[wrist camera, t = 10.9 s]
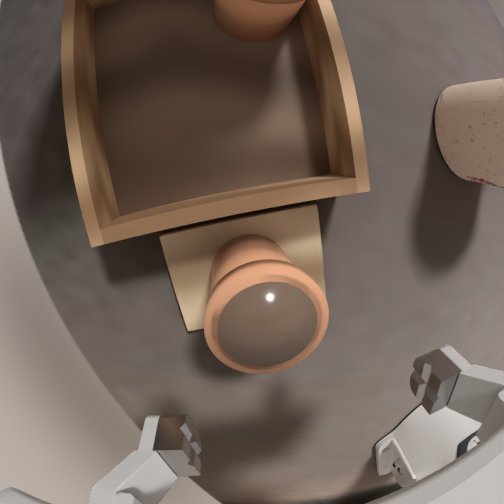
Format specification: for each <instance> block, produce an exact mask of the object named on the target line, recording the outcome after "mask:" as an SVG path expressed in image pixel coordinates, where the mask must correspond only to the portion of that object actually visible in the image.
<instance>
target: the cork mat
mask: <svg viewBox="0 0 504 504" xmlns="http://www.w3.org/2000/svg"><path fill="white" fill-rule="evenodd" d="M247 234H256V235H261V236H265V237H267V238H269V239H271V240H273V241H274V242H276V243H277V244H278V245H279V246H280V247H281V249H282V250H283V251H284V252H285V254H286V255H287V256H288V258H289V259H290V260H291V262H292V263H293V264H294V265H296V266H298V267H299V268H301V269H303V270H304V271H305V272H306V273H308V274H309V276H310V277H311V278H312V279H313V280H314V281H315V283H316V284H317V285H318V286H319V288H320V289H321V290H322V292H323V294H324V296H325V298H326V294H325V280H324V267H323V255H322V244H321V234H320V224H319V215H318V207H317V204H315V203H313V204H307V205H301V206H296V207H290V208H285V209H279V210H274V211H269V212H264V213H258V214H253V215H248V216H243V217H238V218H233V219H228V220H223V221H218V222H214V223H209V224H204V225H200V226H195V227H190V228H186V229H181V230H177V231H172V232H168V233H163V234H161V235H160V236H159V237H160V241H161V245H162V248H163V252H164V256H165V259H166V263H167V266H168V270H169V273H170V276H171V280H172V283H173V286H174V290H175V293H176V296H177V299H178V302H179V305H180V309H181V312H182V315H183V318H184V321H185V324H186V327H187V329H188V331H193V330H198V329H204V312H205V305H206V301H207V299H208V296H209V294H210V292H211V268H212V263H213V260H214V257H215V255H216V254H217V252H218V251H219V249H220V248H221V247H222V246H223V245H224V244H225V243H227V242H228V241H230V240H231V239H233V238H236V237H238V236H242V235H247Z"/></svg>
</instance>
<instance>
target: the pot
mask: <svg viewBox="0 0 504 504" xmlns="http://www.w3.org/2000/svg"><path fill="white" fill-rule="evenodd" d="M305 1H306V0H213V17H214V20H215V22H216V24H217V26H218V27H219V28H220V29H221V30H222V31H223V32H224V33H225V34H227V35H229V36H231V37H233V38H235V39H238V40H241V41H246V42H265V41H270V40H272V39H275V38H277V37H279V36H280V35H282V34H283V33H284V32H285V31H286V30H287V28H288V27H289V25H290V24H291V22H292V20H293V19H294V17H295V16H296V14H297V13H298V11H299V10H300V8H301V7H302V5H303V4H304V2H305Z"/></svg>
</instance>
